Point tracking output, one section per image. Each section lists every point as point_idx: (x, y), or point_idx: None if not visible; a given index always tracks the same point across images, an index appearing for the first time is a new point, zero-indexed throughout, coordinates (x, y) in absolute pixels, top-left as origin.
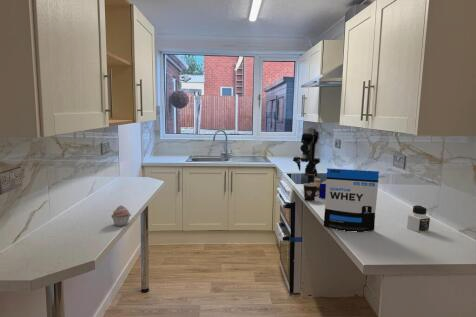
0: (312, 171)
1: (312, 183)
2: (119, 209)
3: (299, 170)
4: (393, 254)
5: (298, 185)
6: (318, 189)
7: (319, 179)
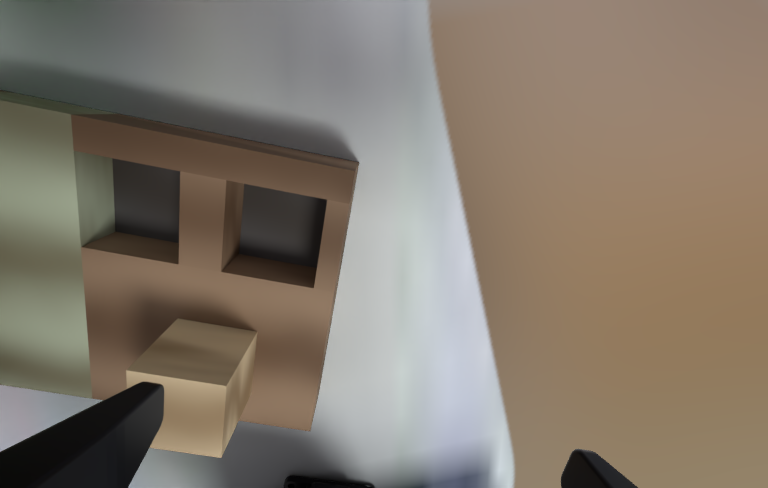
0: (131, 391)
1: (282, 384)
2: None
3: (600, 459)
4: None
5: (457, 398)
6: (173, 129)
7: None
